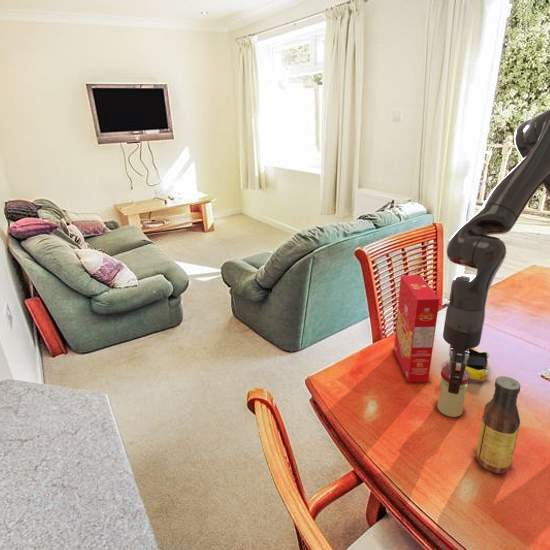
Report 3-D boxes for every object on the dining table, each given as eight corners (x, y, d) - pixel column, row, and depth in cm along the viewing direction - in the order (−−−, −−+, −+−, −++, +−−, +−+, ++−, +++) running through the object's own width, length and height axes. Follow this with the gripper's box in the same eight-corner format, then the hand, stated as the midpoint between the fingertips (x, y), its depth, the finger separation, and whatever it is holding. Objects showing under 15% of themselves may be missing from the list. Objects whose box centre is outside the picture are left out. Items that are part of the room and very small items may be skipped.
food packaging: (394, 350, 114) (400, 275, 104) (411, 350, 114) (420, 274, 104) (408, 382, 101) (417, 299, 91) (428, 381, 100) (439, 298, 91)
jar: (458, 401, 93) (463, 371, 90) (465, 417, 88) (471, 386, 85) (434, 399, 94) (439, 369, 90) (440, 416, 89) (445, 384, 85)
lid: (435, 372, 89) (435, 368, 89) (455, 366, 91) (456, 361, 91) (453, 388, 84) (454, 383, 84) (475, 381, 86) (476, 376, 85)
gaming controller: (443, 379, 101) (485, 391, 96) (445, 363, 99) (489, 373, 94) (450, 350, 113) (487, 359, 108) (452, 335, 110) (491, 343, 106)
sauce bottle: (516, 473, 74) (539, 394, 66) (486, 477, 74) (505, 397, 66) (496, 447, 80) (514, 371, 72) (467, 449, 80) (483, 374, 72)
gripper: (446, 305, 89) (438, 363, 96) (443, 335, 77) (434, 399, 84) (482, 310, 86) (471, 370, 93) (484, 342, 74) (471, 408, 81)
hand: (453, 383), depth 88 cm, fingers closed on lid, 6 cm apart
